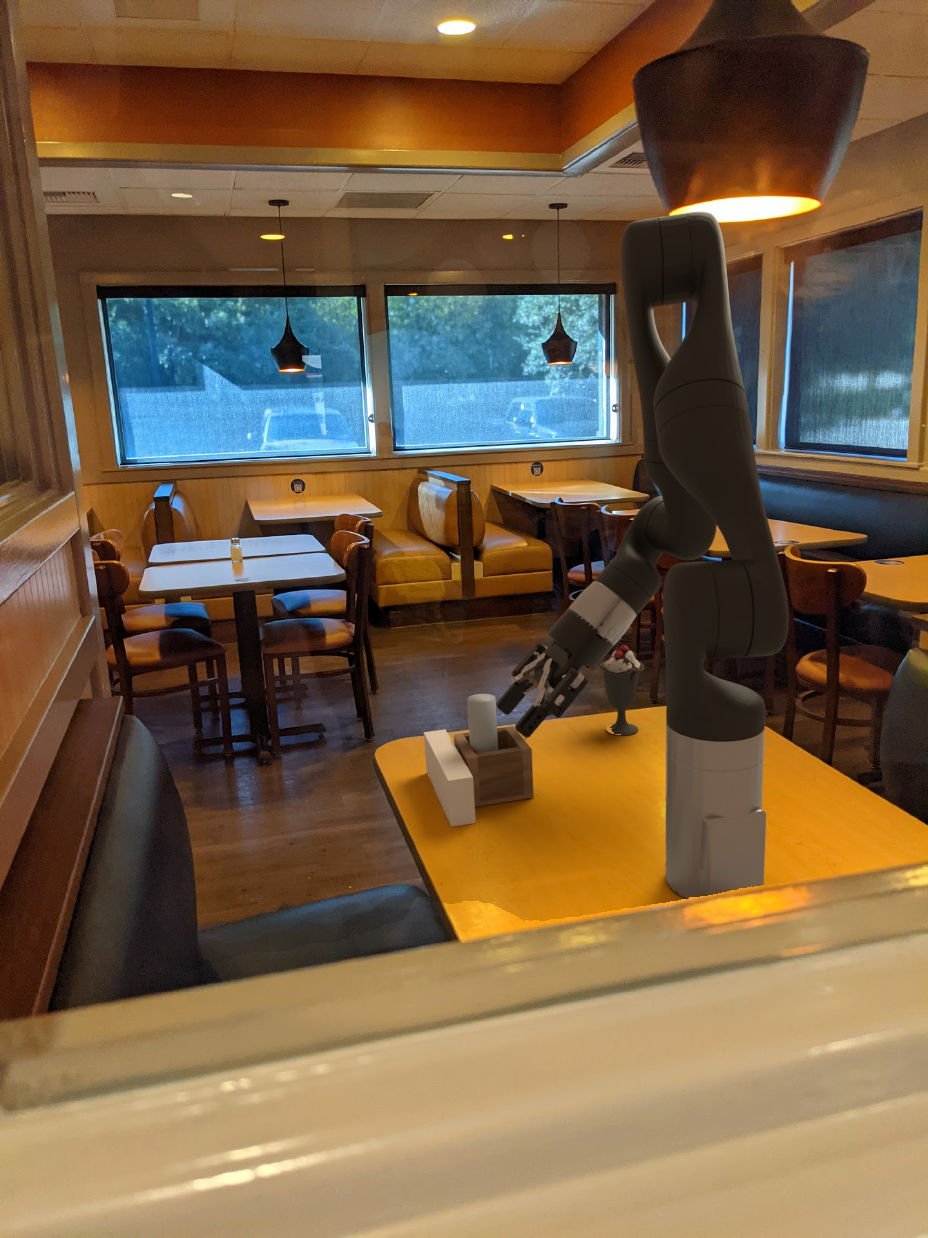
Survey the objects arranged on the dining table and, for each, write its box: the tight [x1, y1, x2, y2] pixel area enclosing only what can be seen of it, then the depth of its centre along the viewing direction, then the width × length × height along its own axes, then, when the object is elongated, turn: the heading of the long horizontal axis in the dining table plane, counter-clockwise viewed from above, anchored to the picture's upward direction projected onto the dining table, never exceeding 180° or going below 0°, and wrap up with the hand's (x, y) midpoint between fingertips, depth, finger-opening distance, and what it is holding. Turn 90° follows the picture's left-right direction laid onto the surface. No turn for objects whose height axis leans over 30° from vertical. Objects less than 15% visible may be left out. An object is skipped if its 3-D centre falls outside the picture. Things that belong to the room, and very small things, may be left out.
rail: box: [423, 729, 477, 828], centre depth 106 cm, size 16×3×6 cm, turn 13°
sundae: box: [597, 637, 645, 737], centre depth 124 cm, size 7×7×15 cm
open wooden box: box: [453, 725, 535, 808], centre depth 108 cm, size 8×8×7 cm
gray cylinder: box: [466, 693, 498, 753], centre depth 106 cm, size 4×4×12 cm
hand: (510, 721), depth 106 cm, fingers open, 8 cm apart
